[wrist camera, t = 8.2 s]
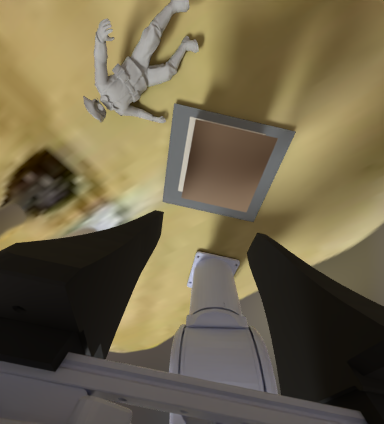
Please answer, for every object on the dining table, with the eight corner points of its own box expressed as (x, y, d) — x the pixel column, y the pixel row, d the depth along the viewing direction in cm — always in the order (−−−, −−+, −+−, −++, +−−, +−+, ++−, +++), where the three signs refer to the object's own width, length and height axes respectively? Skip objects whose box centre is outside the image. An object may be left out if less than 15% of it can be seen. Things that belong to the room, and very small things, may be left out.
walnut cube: (233, 192, 15) (246, 212, 10) (188, 182, 15) (181, 197, 10) (251, 142, 13) (278, 138, 8) (198, 129, 12) (195, 118, 8)
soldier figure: (208, 85, 15) (133, 158, 16) (184, 77, 18) (119, 141, 18) (180, -55, 9) (49, 79, 9) (147, -39, 11) (44, 68, 11)
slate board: (252, 220, 21) (253, 222, 20) (163, 200, 21) (162, 201, 20) (292, 132, 16) (295, 131, 15) (175, 104, 16) (174, 103, 15)
